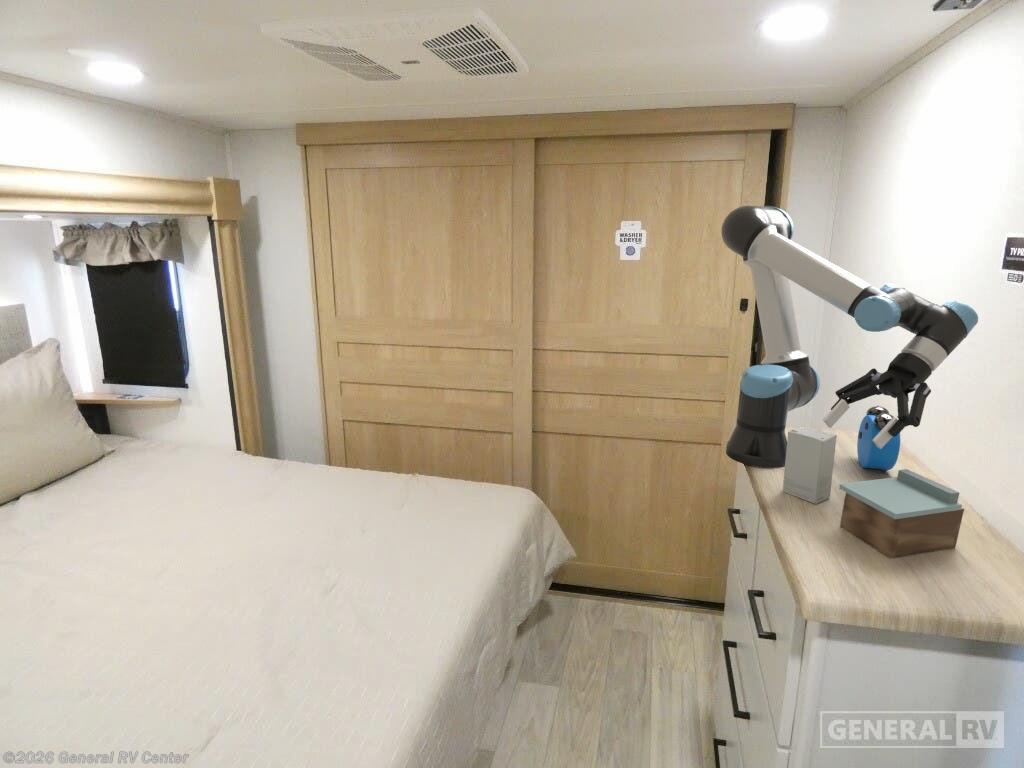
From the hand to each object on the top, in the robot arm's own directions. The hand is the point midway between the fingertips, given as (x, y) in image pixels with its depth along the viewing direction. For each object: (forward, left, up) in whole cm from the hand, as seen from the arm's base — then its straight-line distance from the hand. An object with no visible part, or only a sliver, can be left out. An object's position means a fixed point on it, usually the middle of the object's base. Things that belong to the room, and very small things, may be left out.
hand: (850, 433), depth 130 cm
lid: (+19, -6, -6) cm, 21 cm away
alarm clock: (-10, +19, -14) cm, 26 cm away
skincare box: (-1, -9, -14) cm, 17 cm away
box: (+19, -5, -14) cm, 24 cm away
